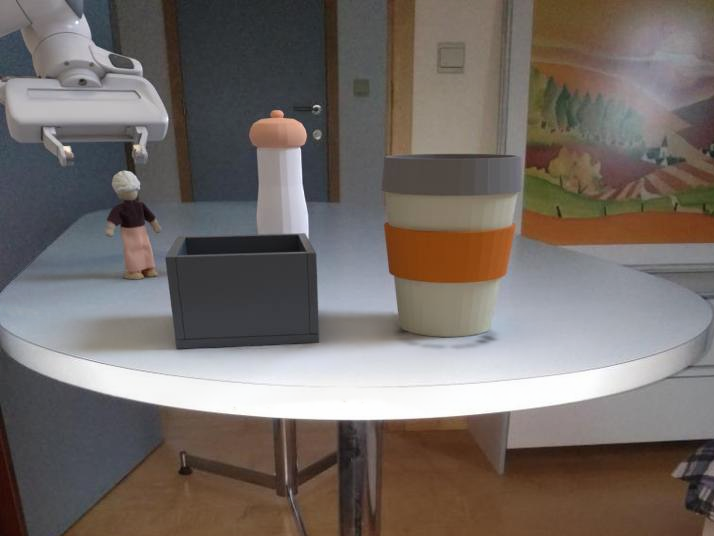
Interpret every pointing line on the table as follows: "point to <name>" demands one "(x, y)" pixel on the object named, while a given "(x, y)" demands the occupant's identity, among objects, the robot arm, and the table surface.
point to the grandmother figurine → (132, 226)
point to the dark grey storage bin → (243, 290)
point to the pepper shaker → (280, 175)
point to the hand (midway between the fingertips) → (105, 161)
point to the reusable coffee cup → (449, 237)
